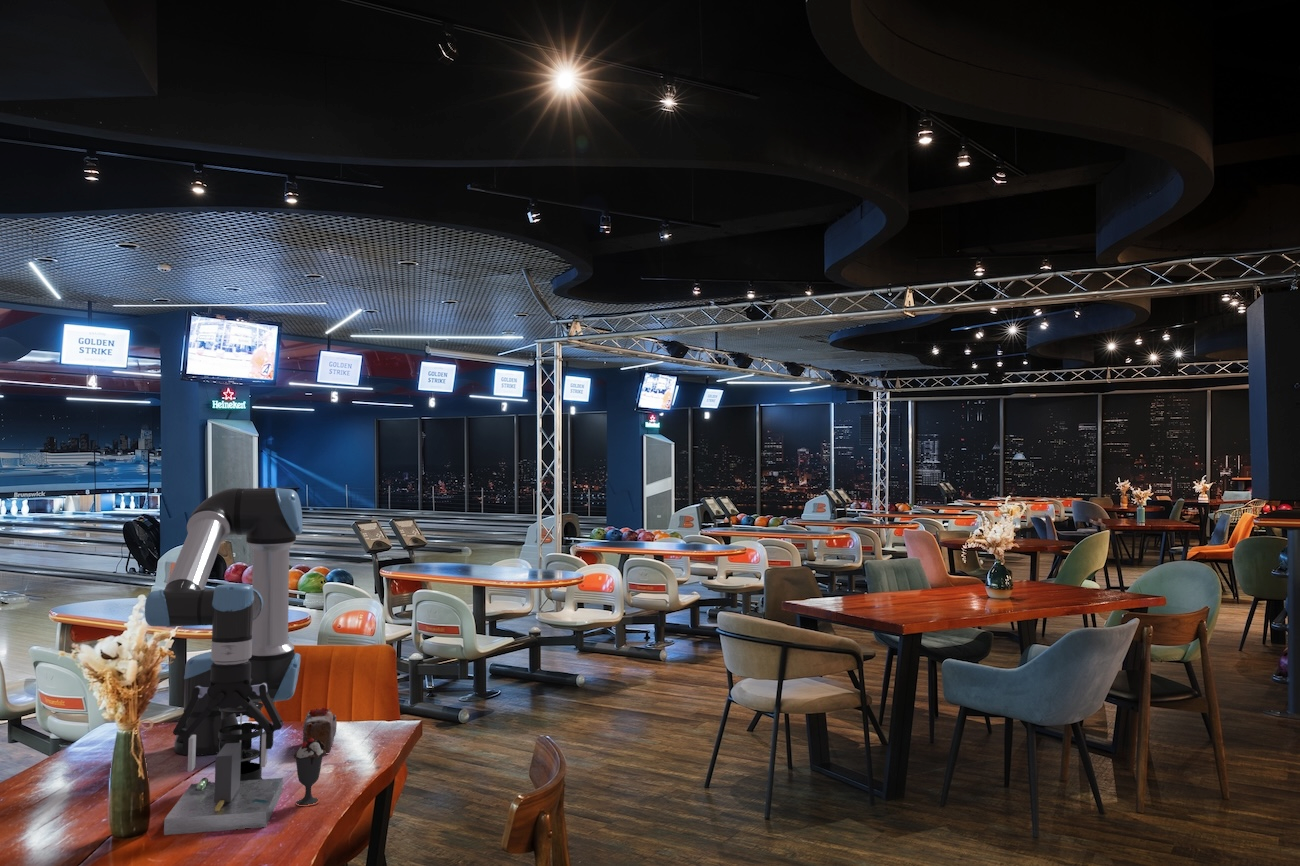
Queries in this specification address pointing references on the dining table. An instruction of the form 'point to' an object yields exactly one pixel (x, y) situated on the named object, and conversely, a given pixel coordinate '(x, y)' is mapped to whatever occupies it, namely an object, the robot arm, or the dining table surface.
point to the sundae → (309, 766)
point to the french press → (244, 741)
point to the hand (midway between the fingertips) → (227, 767)
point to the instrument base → (224, 807)
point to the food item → (320, 727)
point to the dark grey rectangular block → (227, 773)
